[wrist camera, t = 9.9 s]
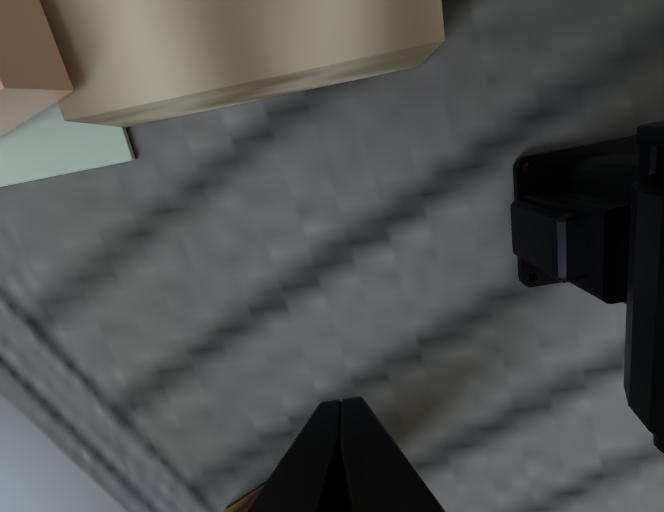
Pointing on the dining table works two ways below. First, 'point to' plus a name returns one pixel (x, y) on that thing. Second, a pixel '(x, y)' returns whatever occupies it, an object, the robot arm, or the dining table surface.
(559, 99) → the dining table surface
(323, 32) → the tan flat block
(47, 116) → the mat
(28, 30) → the terracotta tile
